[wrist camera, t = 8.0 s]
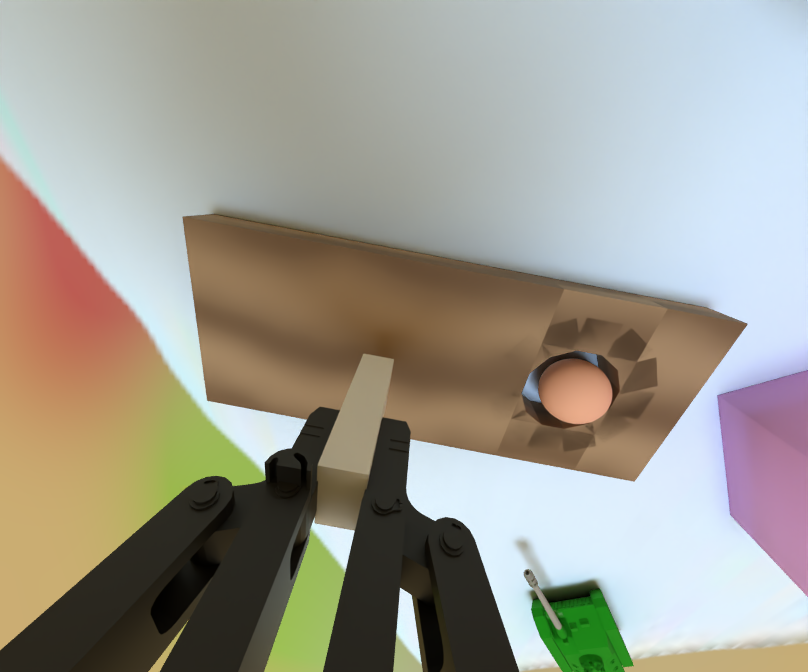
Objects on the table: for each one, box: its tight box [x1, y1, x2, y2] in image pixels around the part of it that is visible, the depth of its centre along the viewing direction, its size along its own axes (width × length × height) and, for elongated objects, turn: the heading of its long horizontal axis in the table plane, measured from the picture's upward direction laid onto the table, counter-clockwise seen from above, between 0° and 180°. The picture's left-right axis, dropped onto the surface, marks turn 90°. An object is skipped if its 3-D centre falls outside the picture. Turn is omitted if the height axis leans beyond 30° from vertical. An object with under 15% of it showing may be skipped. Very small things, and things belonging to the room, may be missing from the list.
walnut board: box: [183, 214, 747, 481], centre depth 19 cm, size 12×30×2 cm, turn 80°
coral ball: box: [538, 359, 612, 424], centre depth 19 cm, size 4×4×4 cm
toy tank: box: [524, 569, 633, 672], centre depth 29 cm, size 7×19×5 cm, turn 28°
